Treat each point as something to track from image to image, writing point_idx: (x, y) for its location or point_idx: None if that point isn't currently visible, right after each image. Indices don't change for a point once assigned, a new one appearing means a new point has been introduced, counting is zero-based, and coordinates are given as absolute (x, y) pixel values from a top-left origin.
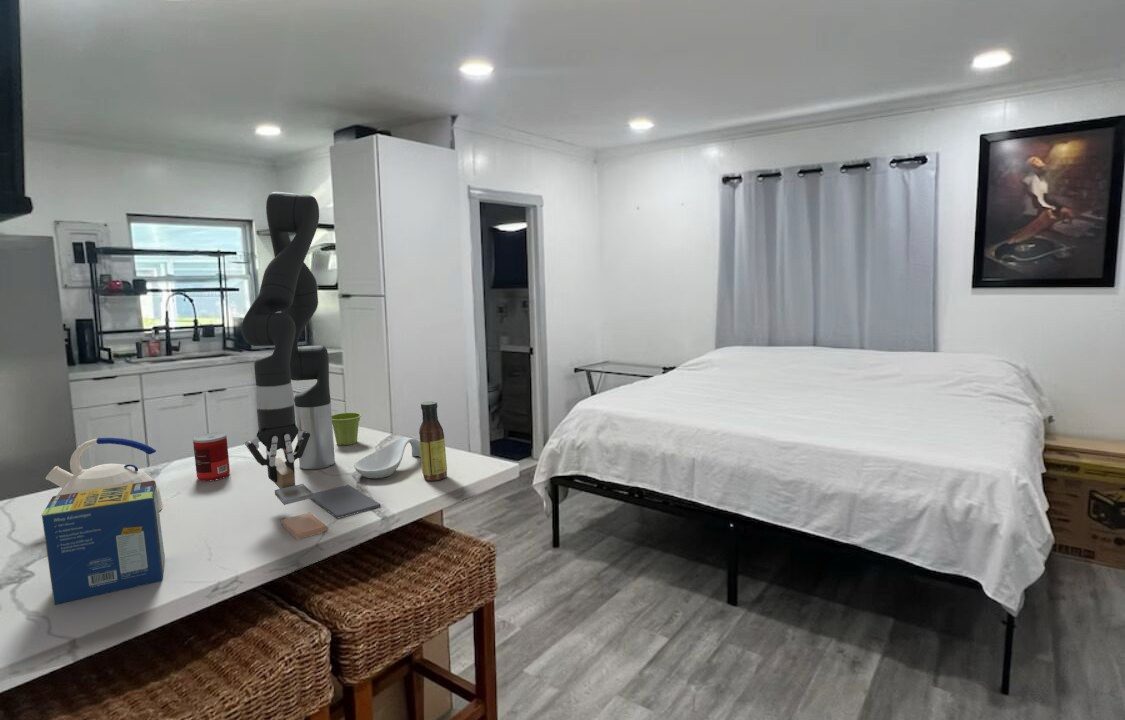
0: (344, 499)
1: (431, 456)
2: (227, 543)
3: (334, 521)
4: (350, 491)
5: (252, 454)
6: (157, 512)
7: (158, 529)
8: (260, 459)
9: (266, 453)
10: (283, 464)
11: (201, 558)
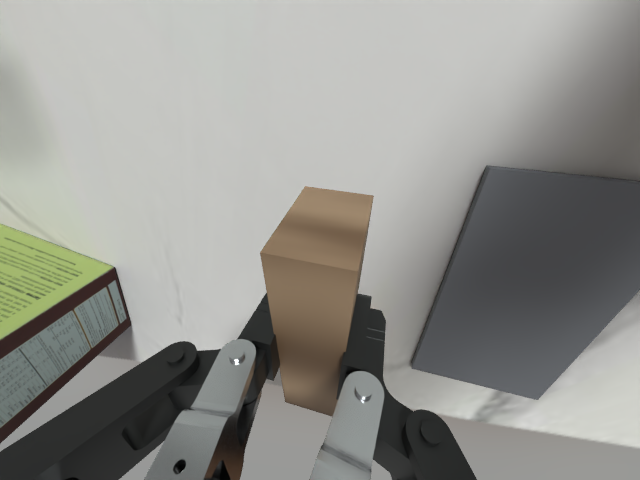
0: (517, 315)
1: None
2: (203, 293)
3: (397, 366)
4: (612, 275)
5: (87, 409)
6: (11, 395)
7: (52, 377)
8: (162, 420)
9: (187, 414)
10: (329, 355)
11: (168, 308)
